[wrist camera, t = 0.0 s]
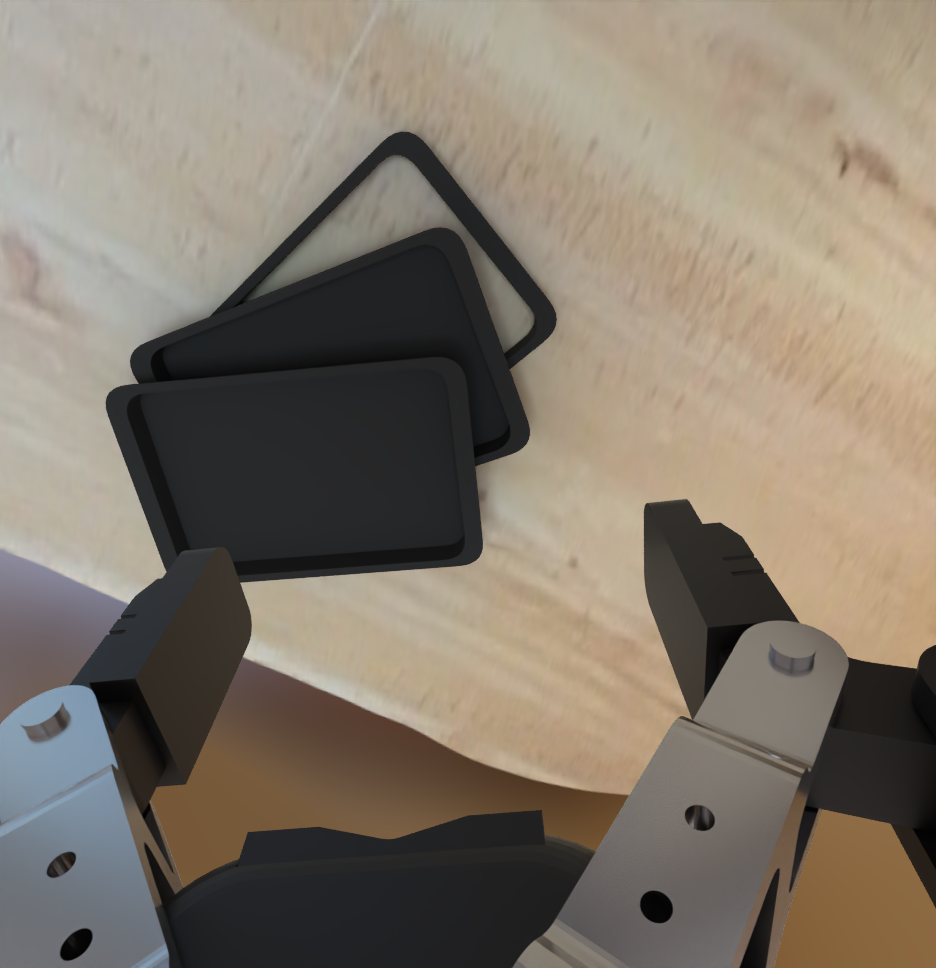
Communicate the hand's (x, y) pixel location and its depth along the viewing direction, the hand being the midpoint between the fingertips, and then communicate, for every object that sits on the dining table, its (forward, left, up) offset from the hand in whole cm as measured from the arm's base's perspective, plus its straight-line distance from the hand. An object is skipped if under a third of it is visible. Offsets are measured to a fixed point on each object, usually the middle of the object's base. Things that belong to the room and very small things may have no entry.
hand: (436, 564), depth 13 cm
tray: (+7, -8, -30) cm, 32 cm away
